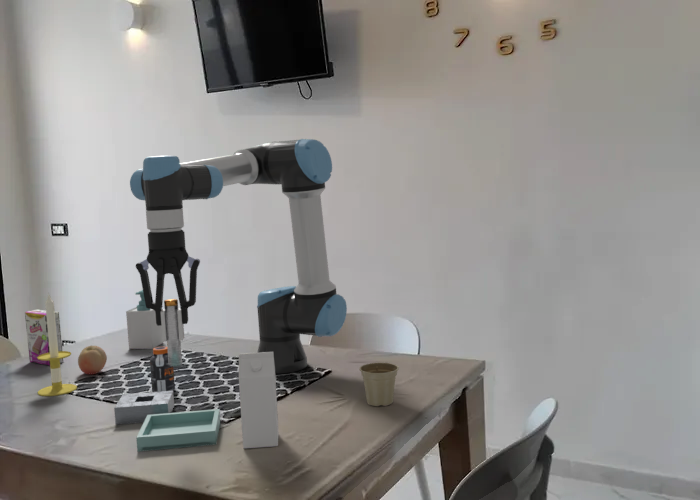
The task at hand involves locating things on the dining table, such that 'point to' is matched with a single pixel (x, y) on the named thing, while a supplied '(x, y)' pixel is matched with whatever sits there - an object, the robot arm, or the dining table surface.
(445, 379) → the dining table surface
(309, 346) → the dining table surface
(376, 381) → the flower pot
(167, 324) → the pin
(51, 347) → the candle
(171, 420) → the tray
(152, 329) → the soap bottle
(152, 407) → the block
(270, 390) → the milk carton
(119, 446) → the dining table surface
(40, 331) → the candy bar box
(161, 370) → the pill bottle
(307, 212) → the robot arm
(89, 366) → the fruit
